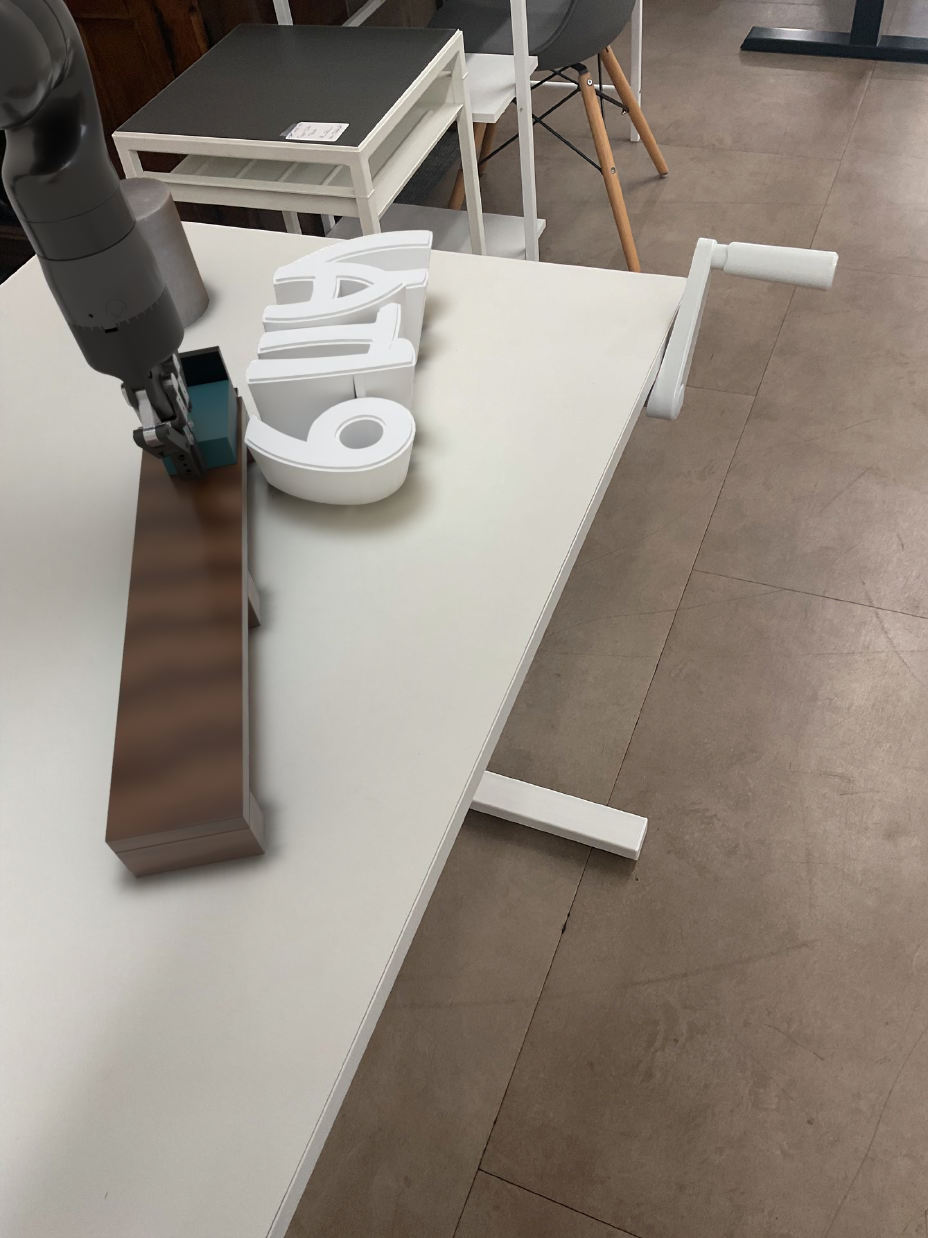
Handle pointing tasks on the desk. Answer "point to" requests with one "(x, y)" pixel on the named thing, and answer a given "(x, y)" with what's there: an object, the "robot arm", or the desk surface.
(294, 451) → the white numeral sign
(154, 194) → the pillar candle
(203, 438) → the teal rectangular block
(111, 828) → the shelf
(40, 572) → the desk surface
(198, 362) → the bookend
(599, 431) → the desk surface
